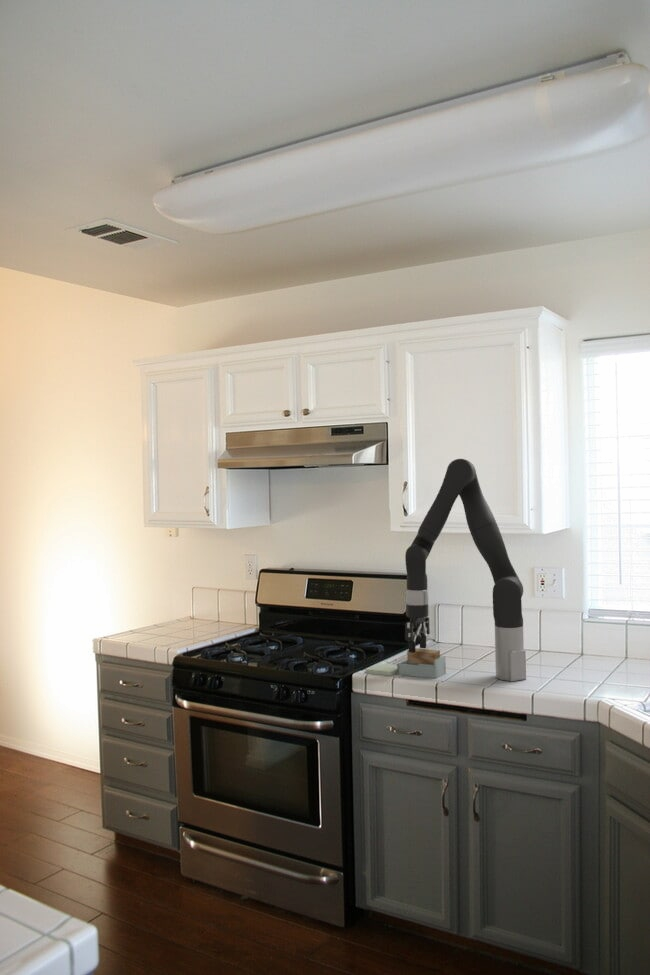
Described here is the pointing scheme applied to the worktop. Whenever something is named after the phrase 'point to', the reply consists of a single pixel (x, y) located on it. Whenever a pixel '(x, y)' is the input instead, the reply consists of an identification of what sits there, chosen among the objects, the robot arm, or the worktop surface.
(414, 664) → the pale blue tray
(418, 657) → the walnut bar
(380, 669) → the plate
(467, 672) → the worktop surface
